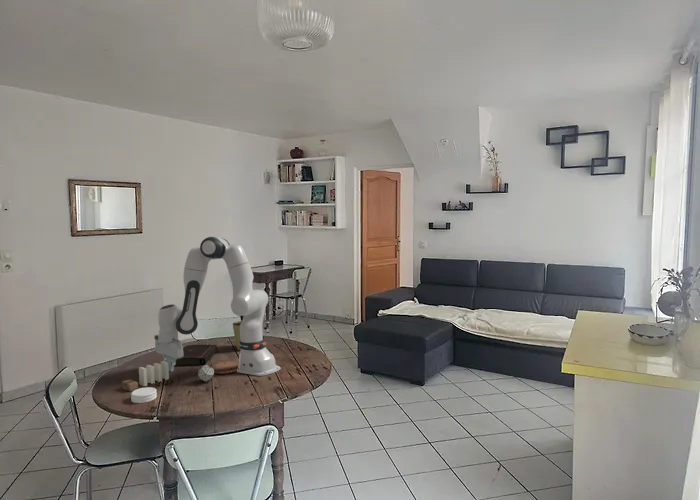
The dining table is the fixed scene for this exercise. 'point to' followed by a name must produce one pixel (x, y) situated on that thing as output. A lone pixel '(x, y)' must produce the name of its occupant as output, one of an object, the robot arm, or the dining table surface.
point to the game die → (205, 373)
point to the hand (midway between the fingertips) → (170, 364)
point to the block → (130, 385)
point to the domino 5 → (169, 363)
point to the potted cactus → (237, 332)
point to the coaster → (143, 395)
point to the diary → (196, 355)
